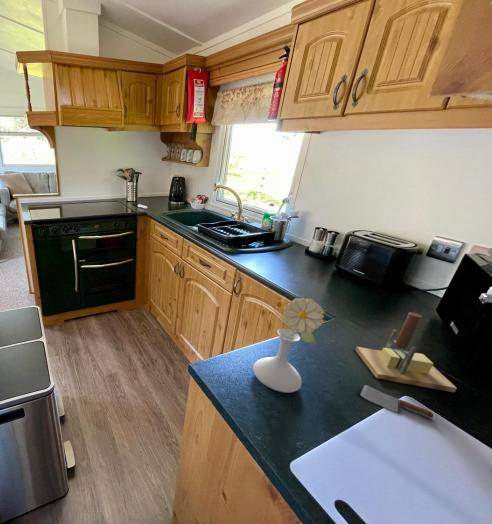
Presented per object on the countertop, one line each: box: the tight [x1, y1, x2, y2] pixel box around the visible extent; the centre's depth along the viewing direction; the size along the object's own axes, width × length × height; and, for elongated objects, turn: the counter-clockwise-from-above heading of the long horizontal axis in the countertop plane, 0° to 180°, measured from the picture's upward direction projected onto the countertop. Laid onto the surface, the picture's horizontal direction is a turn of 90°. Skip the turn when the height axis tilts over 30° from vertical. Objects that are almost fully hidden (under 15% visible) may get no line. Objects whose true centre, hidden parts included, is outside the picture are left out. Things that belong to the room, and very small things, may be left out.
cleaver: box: [359, 384, 434, 420], centre depth 68 cm, size 13×2×5 cm
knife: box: [390, 311, 423, 371], centre depth 78 cm, size 3×6×16 cm, turn 168°
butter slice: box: [379, 347, 400, 368], centre depth 80 cm, size 2×4×4 cm, turn 168°
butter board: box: [355, 328, 458, 393], centre depth 79 cm, size 18×12×10 cm, turn 78°
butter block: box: [407, 351, 434, 374], centre depth 79 cm, size 7×4×4 cm, turn 78°
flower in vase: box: [252, 297, 325, 394], centre depth 68 cm, size 13×11×25 cm
